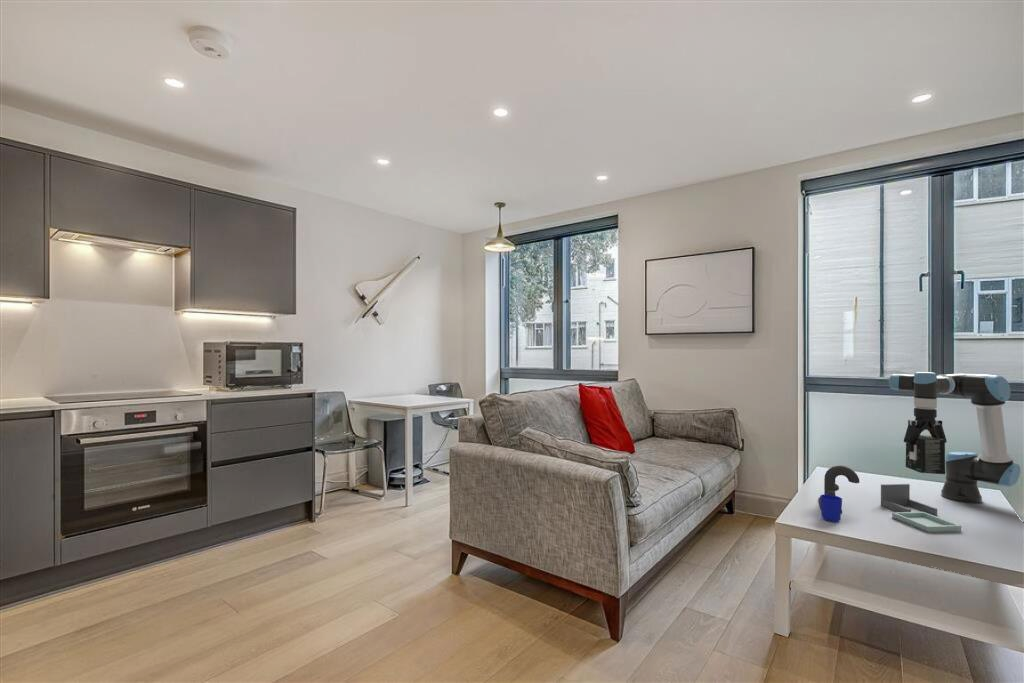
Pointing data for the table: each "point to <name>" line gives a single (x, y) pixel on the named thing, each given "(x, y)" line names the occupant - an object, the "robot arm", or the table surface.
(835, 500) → the mug
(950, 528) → the tray
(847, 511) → the table surface
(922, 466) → the dark grey box
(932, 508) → the bay
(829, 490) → the faucet
